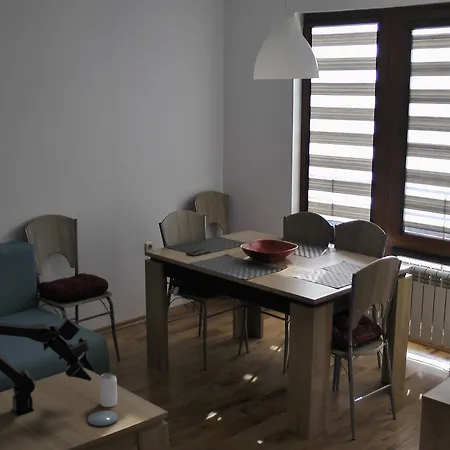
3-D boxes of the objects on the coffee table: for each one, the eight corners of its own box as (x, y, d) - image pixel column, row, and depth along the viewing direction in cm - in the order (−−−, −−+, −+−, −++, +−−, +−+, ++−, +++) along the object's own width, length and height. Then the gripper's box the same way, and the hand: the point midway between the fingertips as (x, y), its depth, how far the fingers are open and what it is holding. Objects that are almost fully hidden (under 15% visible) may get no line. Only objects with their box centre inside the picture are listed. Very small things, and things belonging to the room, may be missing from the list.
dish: (98, 429, 252) (98, 427, 252) (82, 419, 260) (82, 416, 260) (123, 420, 259) (123, 418, 259) (107, 410, 267) (107, 408, 267)
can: (113, 408, 269) (113, 379, 267) (98, 406, 270) (97, 377, 268) (119, 401, 275) (118, 372, 273) (104, 399, 276) (103, 371, 274)
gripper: (73, 343, 257) (104, 370, 260) (80, 326, 276) (108, 352, 278) (52, 363, 258) (83, 390, 261) (60, 345, 276) (89, 371, 279)
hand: (92, 375), depth 270 cm, fingers open, 9 cm apart
